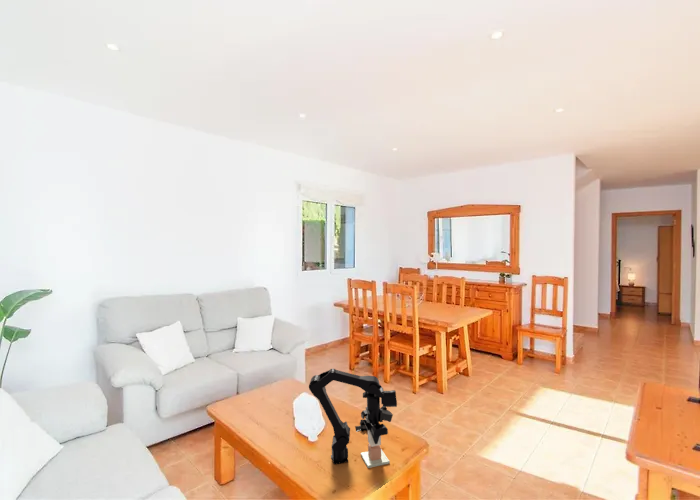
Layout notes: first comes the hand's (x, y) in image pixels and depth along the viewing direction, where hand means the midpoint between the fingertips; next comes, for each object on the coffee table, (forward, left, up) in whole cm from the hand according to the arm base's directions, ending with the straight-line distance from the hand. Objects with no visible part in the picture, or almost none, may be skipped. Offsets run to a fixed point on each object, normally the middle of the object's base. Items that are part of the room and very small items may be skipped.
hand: (374, 440), depth 163 cm
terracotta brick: (0, 0, -7) cm, 7 cm away
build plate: (0, 0, -8) cm, 8 cm away
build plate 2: (+4, +26, -9) cm, 28 cm away
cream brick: (0, 0, -1) cm, 1 cm away
